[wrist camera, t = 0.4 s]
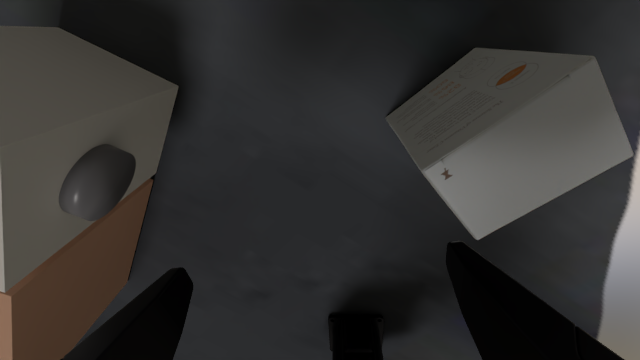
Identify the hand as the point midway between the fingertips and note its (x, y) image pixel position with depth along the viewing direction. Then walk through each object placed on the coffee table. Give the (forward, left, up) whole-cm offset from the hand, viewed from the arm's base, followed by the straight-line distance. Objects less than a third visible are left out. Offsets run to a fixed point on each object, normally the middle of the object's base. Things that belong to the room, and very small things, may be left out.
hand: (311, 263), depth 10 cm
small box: (+1, -10, -16) cm, 19 cm away
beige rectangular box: (+2, +17, -16) cm, 23 cm away
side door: (-10, +20, -15) cm, 27 cm away
